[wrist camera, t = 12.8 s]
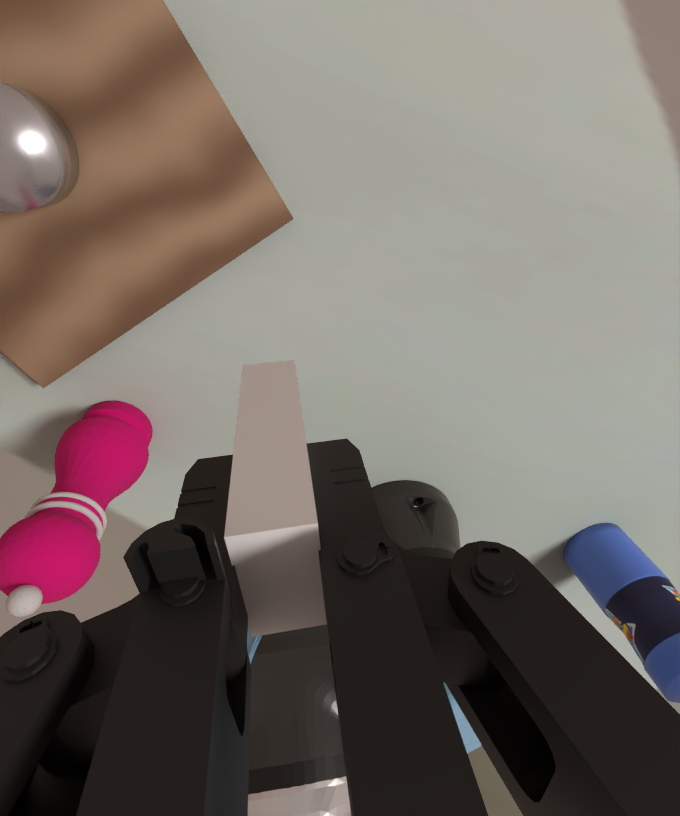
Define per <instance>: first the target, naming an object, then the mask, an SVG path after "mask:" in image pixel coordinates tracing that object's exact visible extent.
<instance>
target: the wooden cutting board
mask: <svg viewBox="0 0 680 816" xmlns="http://www.w3.org/2000/svg"><path fill="white" fill-rule="evenodd" d="M0 81H2V82H5V83H8V84H12V85H15V86H18V87H21V88H24V89H26V90H28V91H30V92H32V93H34V94H35V95H37V96H38V97H40V98H41V99H43V100H44V101H45V102H46V103H48V104H49V105H50V106H51V107H52V108H53V109H54V110H55V111H56V112H57V113H58V114H59V116H60V117H61V118H62V119H63V121H64V122H65V124H66V125H67V127H68V128H69V130H70V132H71V134H72V136H73V138H74V141H75V143H76V147H77V150H78V155H79V164H80V167H79V176H78V180H77V183H76V185H75V187H74V189H73V191H72V192H71V193H70V194H69V196H68V197H66V198H65V199H64V200H62V201H61V202H59V203H57V204H54V205H51V206H47V207H42V208H37V209H33V210H28V211H23V212H4V211H0V351H1V352H2V353H3V354H4V355H6V356H7V357H8V358H9V359H10V360H11V361H13V362H14V363H15V364H16V365H17V366H18V367H20V368H21V369H22V370H23V371H24V372H25V373H27V374H28V375H29V376H30V377H31V378H32V379H34V380H35V381H36V382H37V383H38V384H39V385H41V386H42V387H43V388H44V387H46V386H47V385H49V384H50V383H52V382H53V381H55V380H56V379H58V378H59V377H61V376H62V375H64V374H65V373H67V372H68V371H70V370H71V369H72V368H74V367H75V366H77V365H78V364H80V363H81V362H83V361H84V360H86V359H87V358H89V357H90V356H92V355H93V354H95V353H96V352H98V351H99V350H101V349H102V348H103V347H105V346H106V345H108V344H109V343H111V342H112V341H114V340H115V339H117V338H118V337H120V336H121V335H123V334H124V333H126V332H127V331H129V330H130V329H132V328H133V327H135V326H136V325H137V324H139V323H140V322H142V321H143V320H145V319H146V318H148V317H149V316H151V315H152V314H154V313H155V312H157V311H158V310H160V309H161V308H163V307H164V306H166V305H167V304H168V303H170V302H171V301H173V300H174V299H176V298H177V297H179V296H180V295H182V294H183V293H185V292H186V291H188V290H189V289H191V288H192V287H194V286H195V285H197V284H198V283H199V282H201V281H202V280H204V279H205V278H207V277H208V276H210V275H211V274H213V273H214V272H216V271H217V270H219V269H220V268H222V267H223V266H225V265H226V264H228V263H229V262H230V261H232V260H233V259H235V258H236V257H238V256H239V255H241V254H242V253H244V252H245V251H247V250H248V249H250V248H251V247H253V246H254V245H256V244H257V243H259V242H260V241H261V240H263V239H264V238H266V237H267V236H269V235H270V234H272V233H273V232H275V231H276V230H278V229H279V228H281V227H282V226H284V225H285V224H287V223H288V222H290V221H291V220H292V219H293V217H292V215H291V214H290V212H289V210H288V209H287V207H286V205H285V204H284V202H283V200H282V199H281V197H280V195H279V194H278V192H277V190H276V189H275V187H274V185H273V184H272V182H271V180H270V179H269V177H268V175H267V174H266V172H265V170H264V169H263V167H262V165H261V164H260V162H259V160H258V159H257V157H256V155H255V153H254V152H253V150H252V148H251V147H250V145H249V143H248V142H247V140H246V138H245V137H244V135H243V133H242V132H241V130H240V128H239V127H238V125H237V123H236V122H235V120H234V118H233V117H232V115H231V113H230V112H229V110H228V108H227V107H226V105H225V103H224V102H223V100H222V98H221V97H220V95H219V93H218V92H217V90H216V88H215V87H214V85H213V83H212V82H211V80H210V78H209V77H208V75H207V73H206V72H205V70H204V68H203V67H202V65H201V63H200V62H199V60H198V58H197V57H196V55H195V53H194V52H193V50H192V48H191V47H190V45H189V43H188V42H187V40H186V38H185V36H184V35H183V33H182V31H181V30H180V28H179V26H178V25H177V23H176V21H175V20H174V18H173V16H172V15H171V13H170V11H169V10H168V8H167V6H166V5H165V3H164V1H163V0H0Z"/></svg>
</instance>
